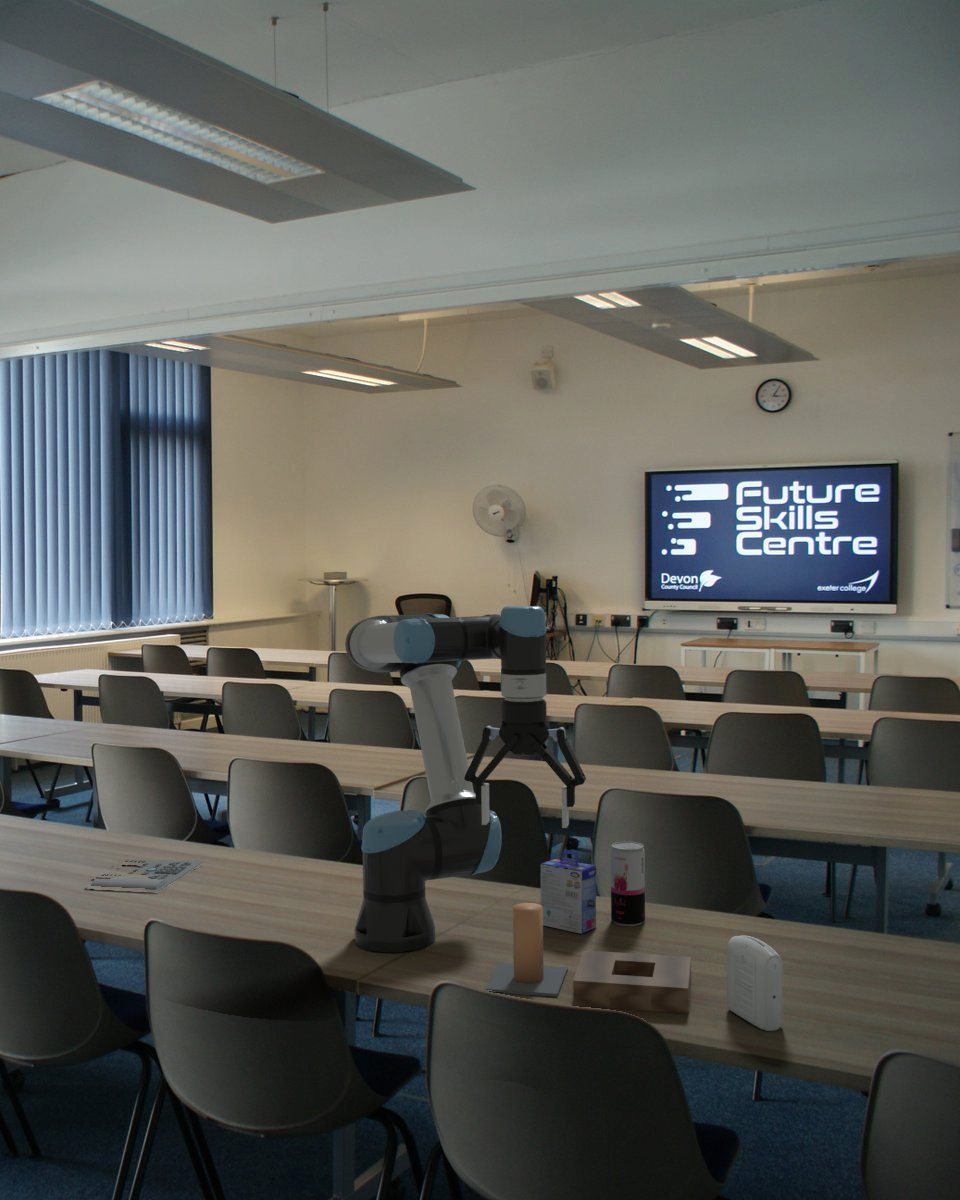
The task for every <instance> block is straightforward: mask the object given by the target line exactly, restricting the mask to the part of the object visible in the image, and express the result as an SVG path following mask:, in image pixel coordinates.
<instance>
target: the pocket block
mask: <svg viewBox="0 0 960 1200" xmlns="http://www.w3.org/2000/svg"><path fill="white" fill-rule="evenodd" d="M572 983H573V984H572V988H573V989H572V993H573V994H572V995H573V999H572V1000H573V1001H572V1004H573V1006H575V1005H580V1007H589V1006H592V1007H593V1008H603V1009H604V1008H606V1009H621V1010H633V1011H646V1012H647V1011H648V1012H658V1013H659V1012H660V1013H675V1014H678V1013H679V1014H686V1015H688V1014H689V1011H690V999H691V998H690V997H691V987H692V957H691V956H679V955H667V954H666V955H664V954H646V953H634V952H633V953H632V952H629V953H628V952H616V951H615V952H614V951H598V950H583V952H582V955H581V958H580V961H579V964H578V966H577V969H576V971H575V975H574V977H573V980H572ZM592 1007H591V1008H592Z"/></svg>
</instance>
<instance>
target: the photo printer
mask: <svg viewBox="0 0 960 1200" xmlns="http://www.w3.org/2000/svg"><path fill="white" fill-rule="evenodd" d="M726 1006H727V1009H728V1010H730V1011H731V1012H732V1013H734V1014H736V1016H739V1017H740V1018H742V1019H743V1020H745V1021H746V1022H748V1023H750V1024H751V1025H753V1026H755V1027H756V1028H758V1029H761V1030H764V1031H767V1032H774V1031H777V1030H779V1029H780V1028H781V1027H782V1025H783V1019H784V962H783V960H782V958H781V956H780V955H779V954H778V952H777V951H776V950H775V949H774V948H772V947H771V946H770V945H769V944H767V943H765V942H764V941H762V940H761V939H759V938H756V937H753V936H749V935H745V934H744V935H735V936H732V937H731V938H730V939H729V940H728V943H727V947H726Z"/></svg>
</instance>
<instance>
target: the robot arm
mask: <svg viewBox="0 0 960 1200" xmlns="http://www.w3.org/2000/svg"><path fill="white" fill-rule="evenodd" d="M547 629H548V628H547V626H546V613H545V610H544V609H543V607H541V606H538V605H533V606H531V605H514V606H513V605H510V606H504V607H502V609H501V612H500V614H496V613H494V614H483V615H479V616H478V615H477V616H475V615H474V616H454V617H450V616H448V615H447V614H443V613H441V614H439V613H430V612H426V613H423V614H395V615H394V614H393V615H392V614H391V615H385V614H384V615H375V616H370V617H367V618H365V619H362V620H360V621H358V622H356V623H355V624H353V626H351V628H350V629H349V631H348V632H347V634H346V637H345V641H344V643H345V645H344V647H345V652H346V655H347V656H348V658H349V660H350V661H351V662H352V663H353V664H354V665H355V666H357V667H358V668H360V669H363V670H366V671H369V672H373V673H399V677H400V682H401V684H402V685H403V686H405V687H406V688H408V689H409V690H410V695H411V701H412V706H413V713H414V717H415V723H416V728H417V733H418V739H419V744H420V748H421V749H420V750H421V753H422V754H421V756H422V759H423V764H424V770H425V776H426V782H427V787H428V793H429V798H430V803H429V804H428V805H427V807H426V809H425V811H424V813H423V812H422V811H419V810H415V809H414V810H413V809H407V810H395V811H394V810H393V811H389V812H385V813H382V814H379V815H377V816H374V817H372V818H371V819H370V820H368V821H367V822H366V823H365V824H364V825H363V829H362V841H361V847H360V848H361V851H362V885H363V886H362V889H363V891H362V893H363V895H362V896H363V897H362V899H363V900H362V904H361V906H360V910H359V913H358V915H357V920H356V923H355V926H354V942H355V944H356V946H358V947H360V948H361V949H364V950H367V951H372V952H376V953H377V952H378V953H403V952H409V951H410V952H411V951H416V950H419V949H423V948H425V947H427V946H430V945H431V944H432V943H434V941H435V940H436V924H435V921H434V918H433V916H432V912H431V909H430V908H429V907H430V906H429V904H428V900H427V898H426V882H427V881H433V880H434V881H435V880H440V879H448V878H455V877H464V876H469V877H471V876H472V877H473V876H474V875H477V874H482V873H487V872H489V871H491V870H492V869H493V868H494V867H495V866H496V865H497V864H498V863H497V862H498V860H499V858H500V855H501V854H500V853H501V850H502V849H501V848H502V838H503V837H502V827H501V822H500V819H499V816H498V815H497V813H496V812H495V811H493V810H490V783H488V782H485V780H487V778H489V776H490V775H491V774H492V773H493V772H494V770H495V769H496V768H497V767H498V765H500V763H501V762H502V761H503V759H504V758H506V756H507V755H508V754H509V753H512V754H514V755H523V754H524V755H527V756H533V755H536V754H538V756H539V757H540V758H542V759H543V761H545V762H546V764H547V765H548V766H549V768H551V770H552V771H553V772H554V774H556V776H557V777H558V778H559V779H560V781H561V782H562V783H563V784H564V785H563V787H562V788H561V828H563V829H567V828H568V826H569V825H570V808H573V807H574V806H575V805H576V804H575V803H576V787H577V786H578V787H579V786H582V785H584V783H585V782H586V781H587V780H586V779H587V778H586V775H585V773H584V771H583V769H582V767H581V765H580V763H579V761H578V759H577V757H576V755H575V753H574V751H573V749H572V747H571V745H570V743H569V742H568V738H567V730H566V728H565V726H560V727H559V728H552V729H551V728H549V727H548V723H547V720H548V719H547V717H548V716H547V710H548V709H547V701H546V699H545V698H544V697H546V696H547ZM478 660H479V661H480V660H500V665H501V666H500V667H501V668H500V669H501V670H500V680H501V681H500V684H501V685H500V686H501V688H500V691H501V693H500V695H501V696H502V697H503V698H504V699H503V700H502V701H501V726H500V727H493V726H492V725H491V724H489V725H487V726H485V727H484V728H483V730H482V736H481V738H482V739H481V741H480V744H479V746H478V748H477V750H476V752H475V754H474V756H473V758H472V760H471V762H470V765H469V761H468V757H467V751H466V745H465V742H464V735H463V732H462V725H461V721H460V716H459V713H458V707H457V706H458V705H457V701H456V696H455V692H454V686H453V681H452V680H453V679H454V678H455V676H456V675H457V673H458V670H457V669H458V668H459V667H460V666H461V664H462V661H478ZM497 736H499V738H500V739H501V741H502V742H503V743H504V745H503V746H502V747H501V748H500V750H499V751H497V753H496V755H495V756H494V757H493V758H492V759H491V761H490V762H488V764H487V765H486V767H485V768H484V769H483V770H482V771H481V772H480V773H479V774H477V772H478V769H479V767H480V766H481V763H482V762H483V759H484V758H485V755H486V753H487V751H488V749H489V747H490V745H491V742H492V741H493V740H495V739H496V737H497ZM549 737H551V738H552V739H553V742H555V743H557V744H558V747H559V749H560V751H561V753H562V756H563V757H564V760H565V761H566V763H567V765H568V768H569V769H570V771H571V773H572V775H573V776H572V775H571V773H569V771H568V770H567V769H566V767H564V766H563V764H562V763H561V762H560V761H559V759H557V757H556V756H555V755H554V754H553V752H552V751H551V749H550V747H548V745H547V744H546V741H547V740H548V739H549ZM473 785H474V786H475V791H474V786H473ZM424 814H425V815H424Z"/></svg>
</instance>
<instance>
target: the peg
mask: <svg viewBox="0 0 960 1200" xmlns="http://www.w3.org/2000/svg"><path fill="white" fill-rule="evenodd" d="M512 934H513V936H512V942H513V943H512V944H513V947H512V948H513V949H512V950H513V964H514V979H515V980H516V981H518V982H521V983H537V982H540V981H542V980H543V978H544V976H543V966H544V926H543V907H542V906H541V905H540V904H539V903H535V902H520V903H517V904H515V905H513V906H512Z"/></svg>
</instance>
